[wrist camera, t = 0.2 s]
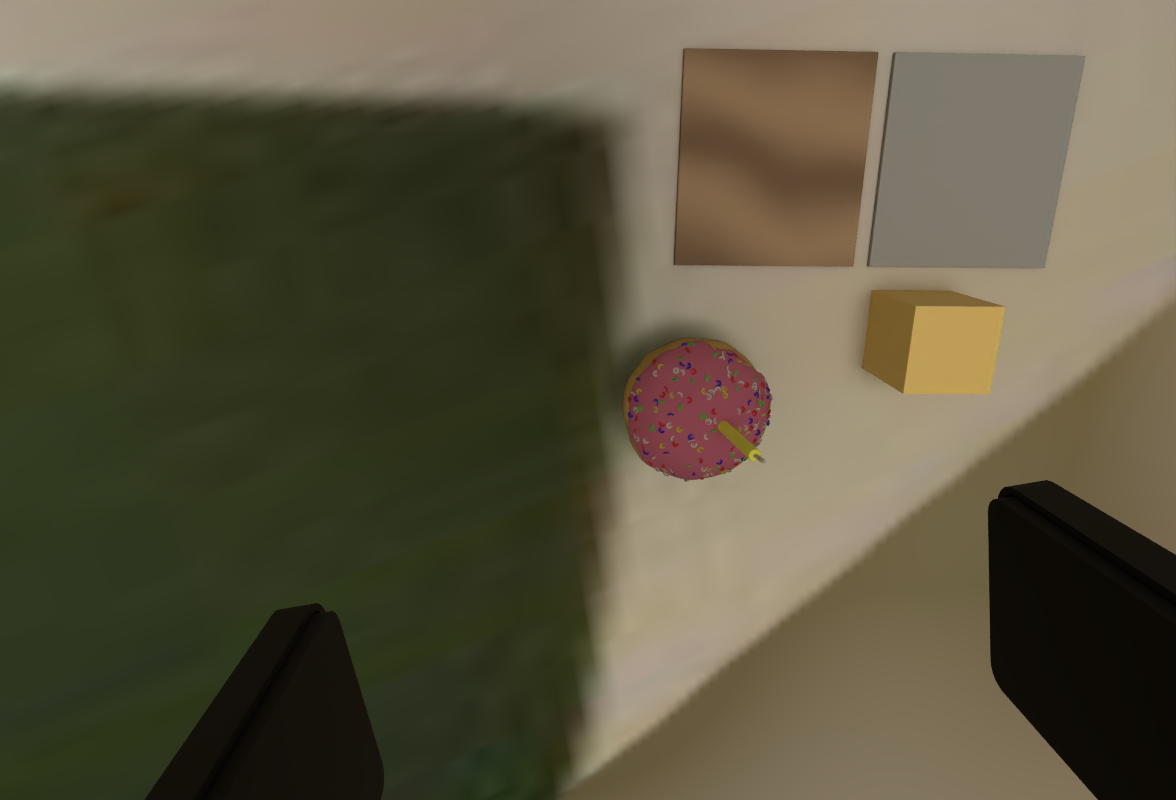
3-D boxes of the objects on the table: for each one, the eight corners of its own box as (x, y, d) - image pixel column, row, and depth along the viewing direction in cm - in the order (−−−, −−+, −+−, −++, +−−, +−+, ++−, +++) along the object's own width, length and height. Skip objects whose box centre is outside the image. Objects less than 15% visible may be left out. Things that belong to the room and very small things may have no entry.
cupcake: (759, 330, 46) (824, 381, 35) (739, 455, 48) (793, 542, 37) (624, 319, 46) (645, 367, 34) (610, 446, 48) (625, 531, 37)
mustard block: (871, 290, 46) (915, 306, 40) (950, 290, 46) (1005, 306, 40) (861, 367, 47) (903, 394, 41) (938, 367, 47) (989, 394, 41)
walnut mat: (684, 49, 41) (684, 48, 41) (876, 52, 41) (878, 52, 41) (674, 264, 45) (674, 264, 44) (851, 265, 45) (853, 266, 45)
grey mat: (893, 53, 42) (895, 52, 41) (1081, 56, 42) (1085, 55, 42) (867, 265, 45) (869, 266, 45) (1041, 267, 45) (1044, 268, 45)
